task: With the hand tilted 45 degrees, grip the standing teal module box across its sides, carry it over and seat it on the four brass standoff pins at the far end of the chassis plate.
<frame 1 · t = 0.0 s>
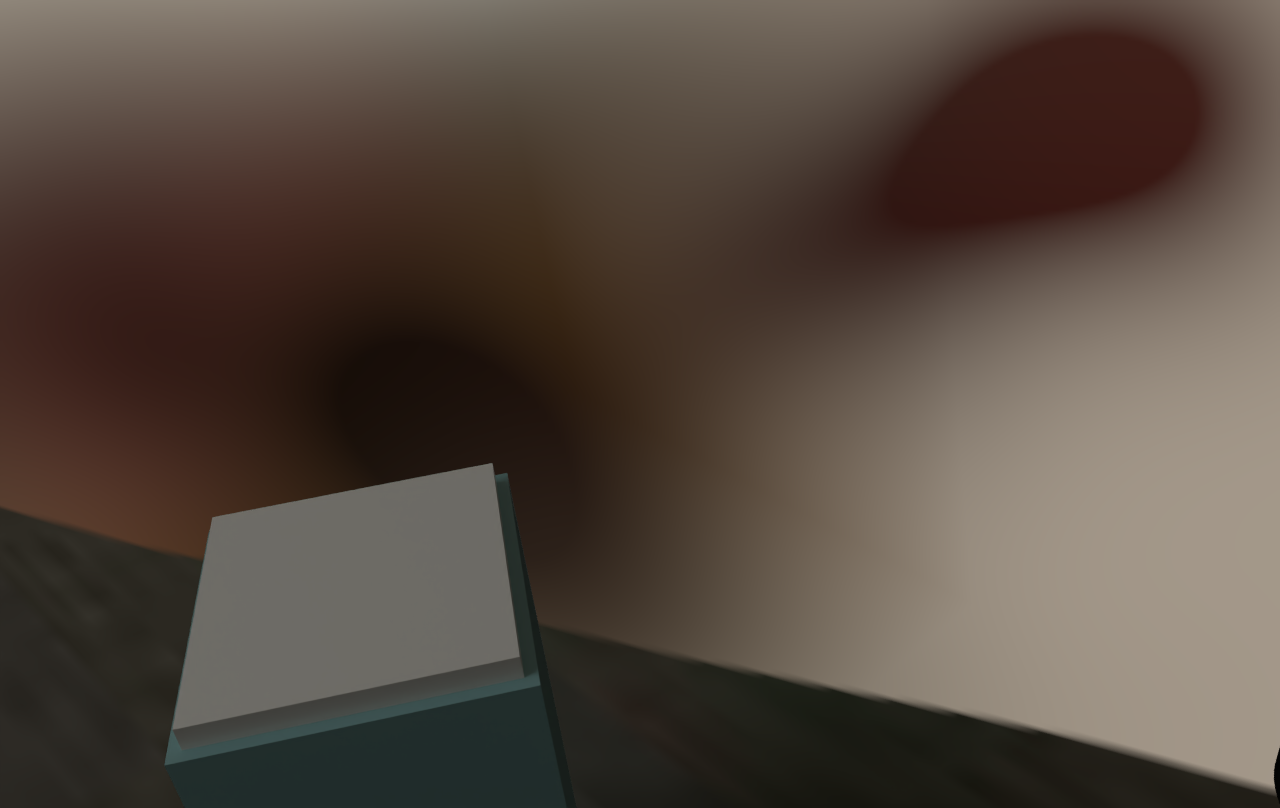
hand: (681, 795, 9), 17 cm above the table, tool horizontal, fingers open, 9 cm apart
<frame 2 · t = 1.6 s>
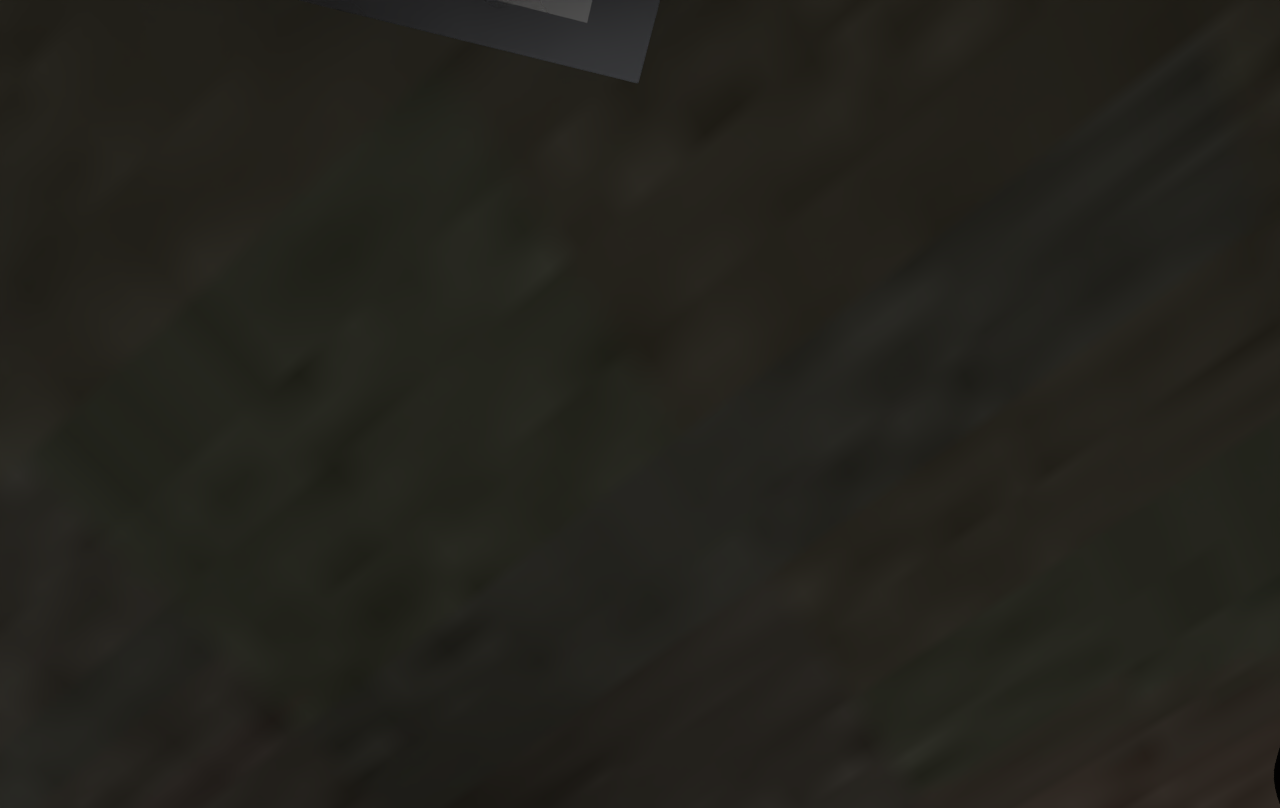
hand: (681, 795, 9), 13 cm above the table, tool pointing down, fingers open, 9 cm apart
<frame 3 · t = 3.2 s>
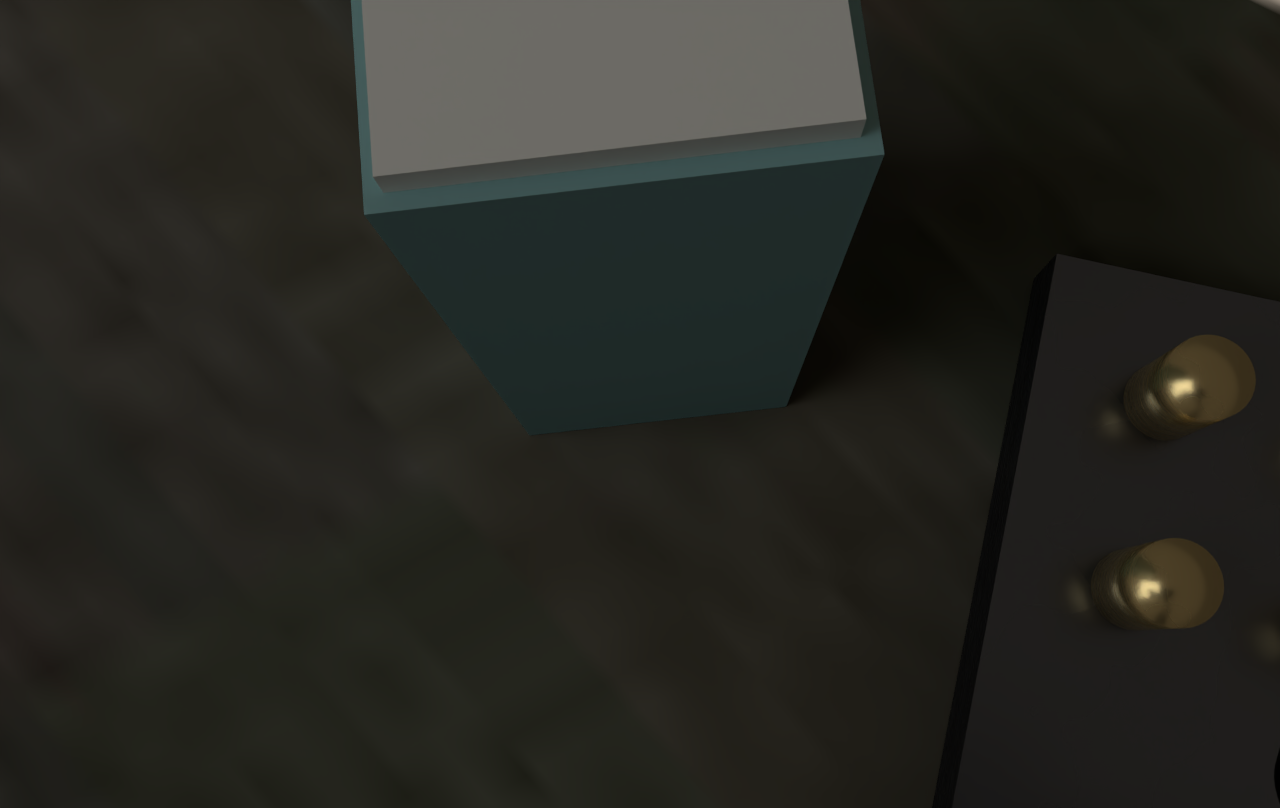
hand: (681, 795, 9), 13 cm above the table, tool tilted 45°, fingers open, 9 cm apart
module: (643, 297, 24), on the table
chassis: (1209, 525, 22), on the table
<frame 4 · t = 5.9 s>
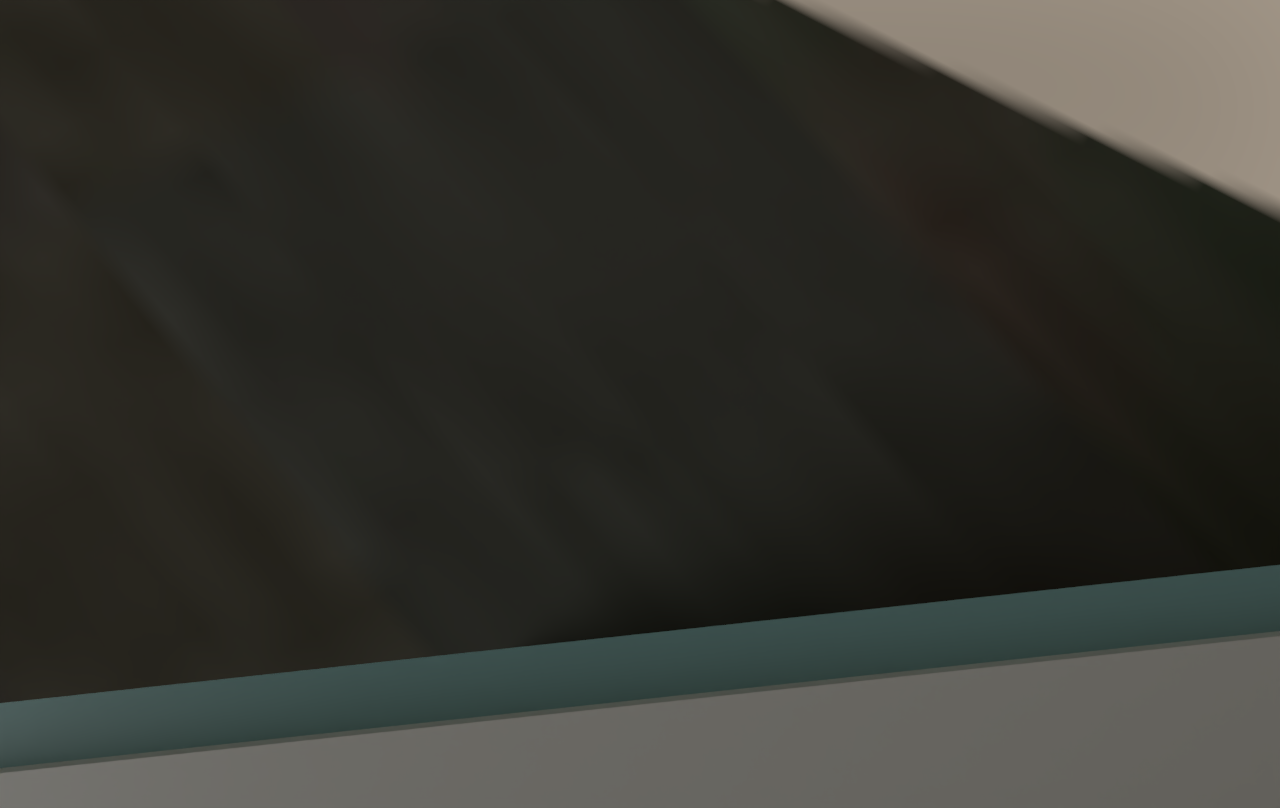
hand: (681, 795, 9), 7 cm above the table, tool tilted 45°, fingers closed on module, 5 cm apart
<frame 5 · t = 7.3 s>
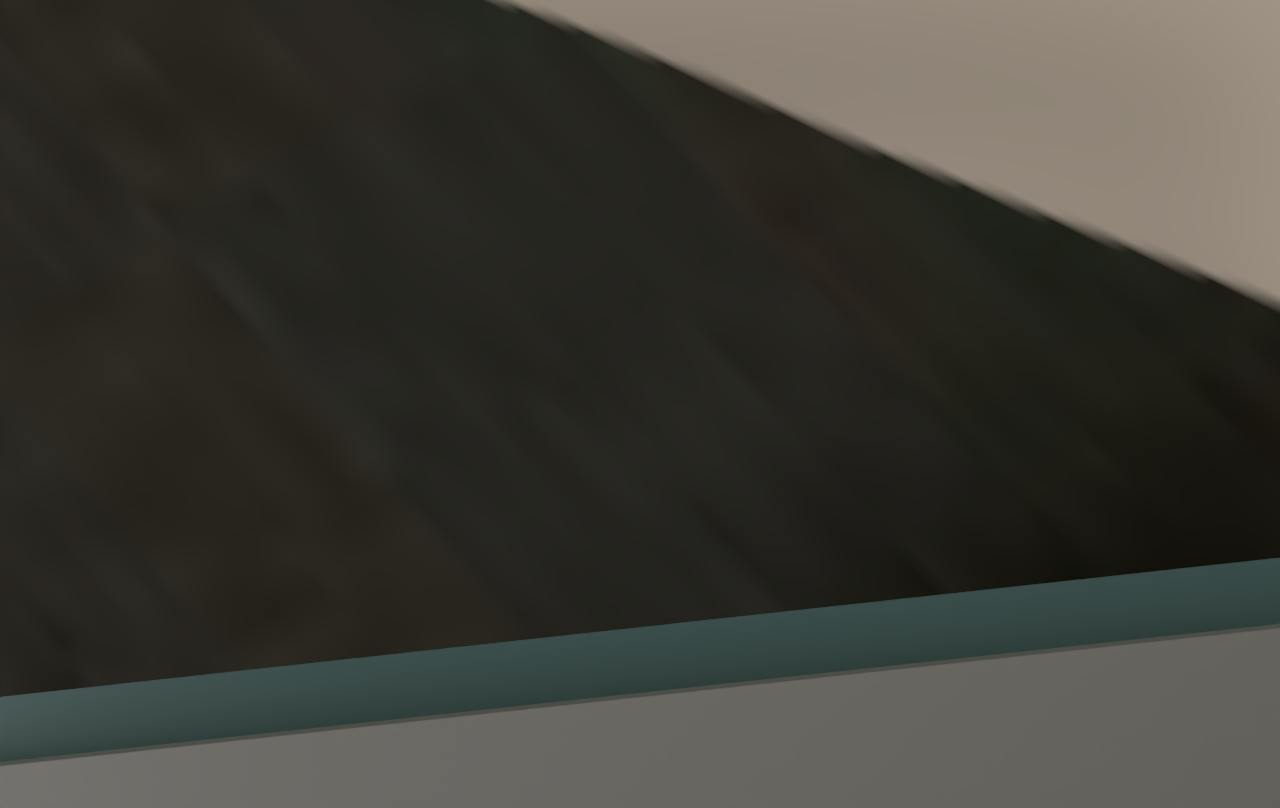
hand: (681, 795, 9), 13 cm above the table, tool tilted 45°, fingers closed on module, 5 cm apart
when the fingers open (11 cm above the table, at t = 8.9 s): module stays where it is, resting on chassis.
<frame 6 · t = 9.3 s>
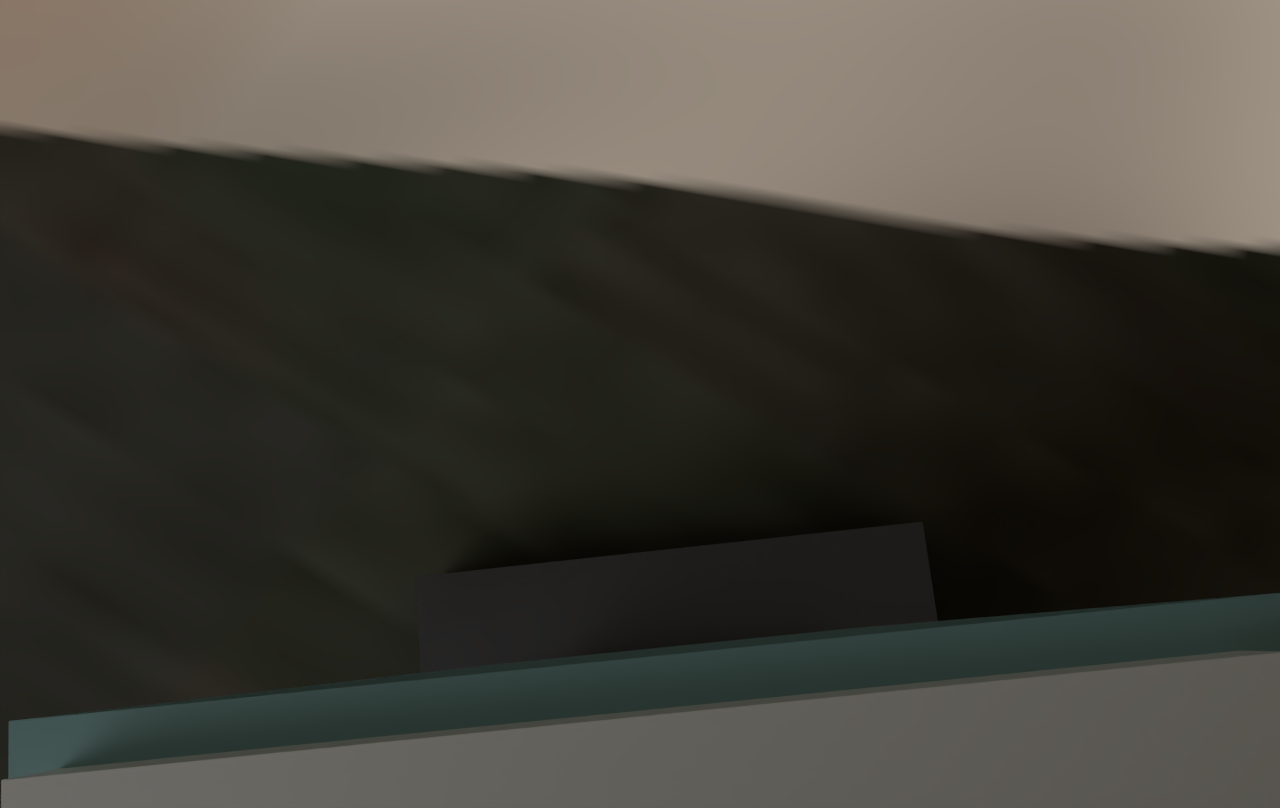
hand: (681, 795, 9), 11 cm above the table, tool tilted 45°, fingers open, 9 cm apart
chassis: (696, 803, 19), on the table
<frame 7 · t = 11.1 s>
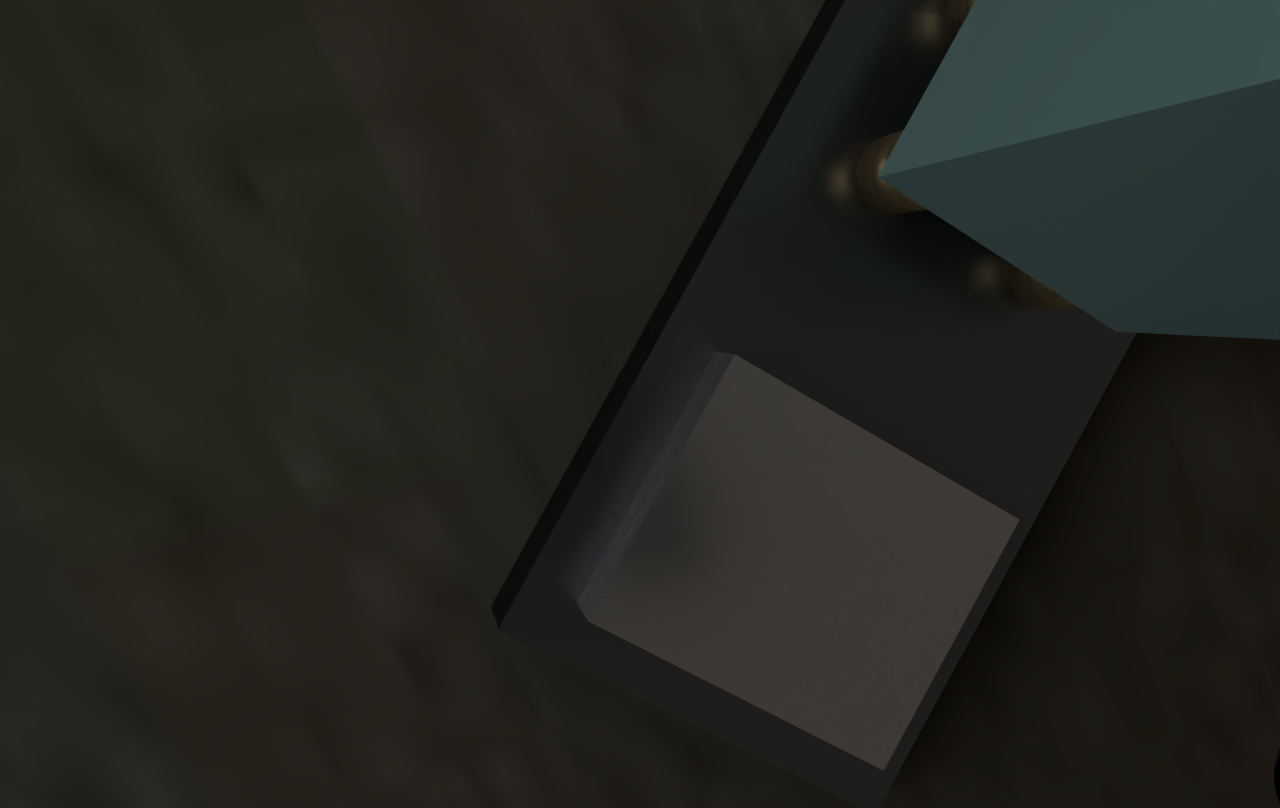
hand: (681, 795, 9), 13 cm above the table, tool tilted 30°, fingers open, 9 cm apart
module: (1073, 124, 20), point 3 cm above the table, touching chassis
chassis: (974, 151, 23), on the table
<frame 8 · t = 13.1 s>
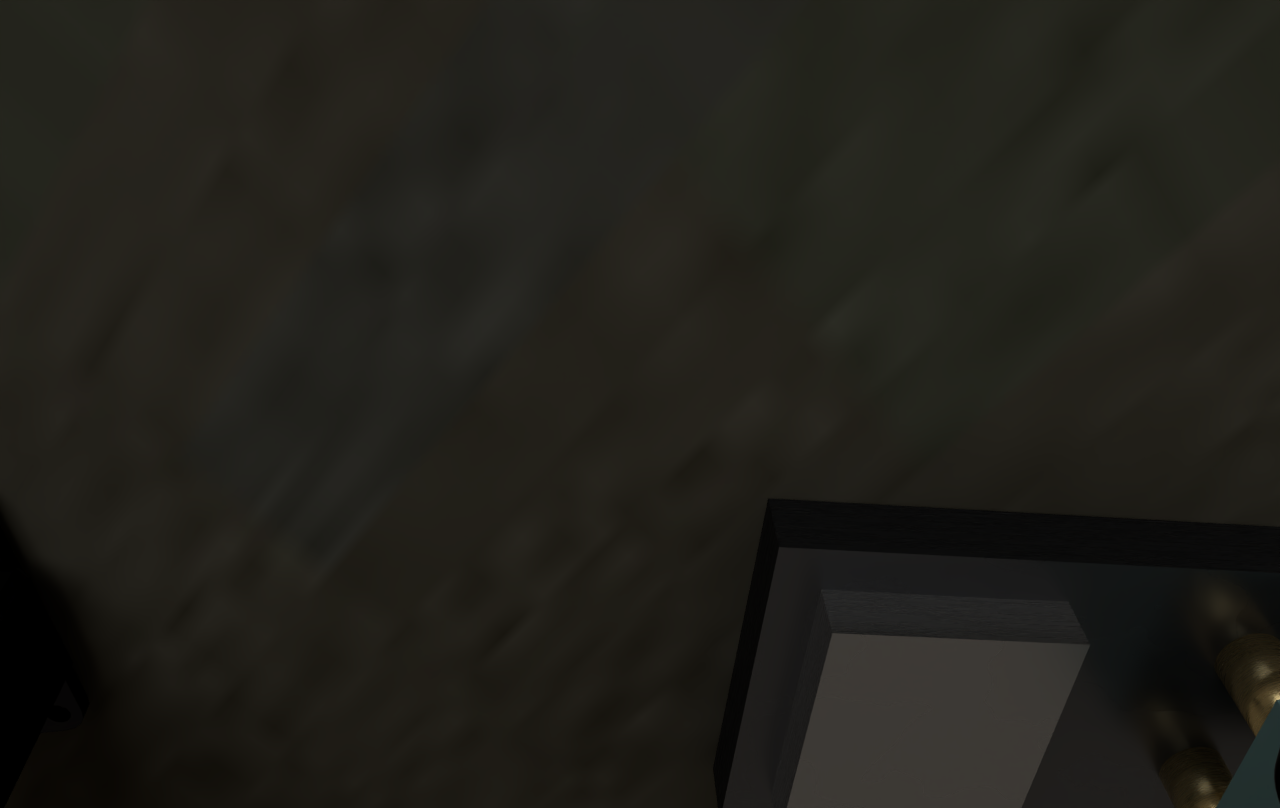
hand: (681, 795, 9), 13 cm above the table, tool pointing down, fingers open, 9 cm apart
chassis: (1259, 667, 27), on the table
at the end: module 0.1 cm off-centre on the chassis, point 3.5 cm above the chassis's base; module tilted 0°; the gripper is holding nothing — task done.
